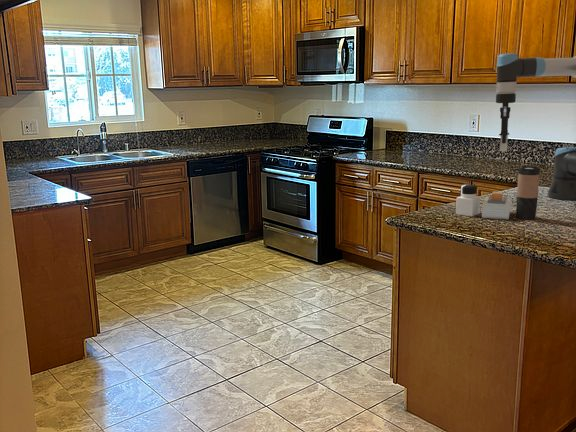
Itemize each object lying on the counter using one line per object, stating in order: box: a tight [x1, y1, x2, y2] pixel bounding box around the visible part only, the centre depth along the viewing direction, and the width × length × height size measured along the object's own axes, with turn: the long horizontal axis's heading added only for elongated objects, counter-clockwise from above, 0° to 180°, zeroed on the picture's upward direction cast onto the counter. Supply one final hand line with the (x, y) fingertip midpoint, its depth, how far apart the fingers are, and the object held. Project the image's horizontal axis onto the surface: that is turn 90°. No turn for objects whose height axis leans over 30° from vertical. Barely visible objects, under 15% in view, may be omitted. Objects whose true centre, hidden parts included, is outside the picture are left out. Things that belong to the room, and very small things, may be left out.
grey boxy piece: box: [481, 194, 512, 220], centre depth 229 cm, size 10×14×7 cm
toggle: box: [491, 191, 504, 200], centre depth 225 cm, size 4×3×4 cm
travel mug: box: [515, 165, 540, 221], centre depth 221 cm, size 8×8×20 cm
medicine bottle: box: [455, 184, 481, 217], centre depth 231 cm, size 7×7×12 cm
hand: (503, 150), depth 235 cm, fingers closed
